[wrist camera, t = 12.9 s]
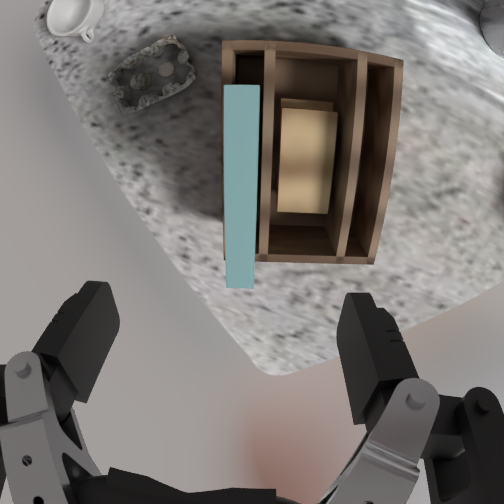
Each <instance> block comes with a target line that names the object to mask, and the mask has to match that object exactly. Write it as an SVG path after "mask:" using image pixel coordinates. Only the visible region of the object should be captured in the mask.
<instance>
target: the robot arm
mask: <svg viewBox="0 0 504 504" xmlns="http://www.w3.org/2000/svg"><path fill="white" fill-rule="evenodd" d="M480 26H481V30H482V33H483V36H484V38H485V40H486V42H487V43H488V45H489V46H490V47H491V49H492V50H493V51H494V52H495V53H496V54H498V55H499V56H501V57H503V58H504V0H492V1H486V2H485V7H484V8H483V9H482V11H481V13H480ZM119 326H120V319H119V314H118V311H117V307H116V304H115V301H114V298H113V294H112V290H111V287H110V285H109V284H108V282H101V281H87V282H86V283H85V284H84V285H83V287H82V288H81V289H80V291H79V292H78V294H77V293H75V294H74V295H73V296H71V297H70V298H69V299H67V300H66V301H65V302H64V303H63V305H62V306H61V308H60V309H59V310H58V314H56V315H55V316H54V318H53V319H52V322H50V323H49V325H48V326H47V328H46V330H45V331H44V332H43V334H42V336H41V337H40V339H39V340H38V342H37V343H36V345H35V346H34V348H33V350H32V351H31V352H28V351H26V352H21V353H18V354H17V355H15V356H14V357H12V358H11V359H10V361H9V362H8V363H7V364H6V365H0V497H1V493H2V490H3V486H4V482H5V479H6V476H7V479H8V484H9V488H10V492H11V496H12V500H13V503H14V504H299V503H297V502H295V501H293V500H290V499H286V498H283V497H278V496H276V489H248V488H247V489H246V488H228V489H221V490H213V491H205V492H195V493H187V492H183V491H180V490H178V489H175V488H173V487H170V486H168V485H165V484H163V483H161V482H158V481H156V480H154V479H152V478H150V477H147V476H144V475H139V474H135V473H131V472H127V471H123V470H119V469H115V468H111V467H110V469H109V472H108V475H101V473H100V471H99V469H98V467H97V466H96V464H95V463H94V462H93V460H92V458H91V457H90V455H89V453H88V450H87V447H86V445H85V442H84V439H83V436H82V433H81V430H80V428H79V424H78V421H77V418H76V415H75V411H74V409H73V408H72V405H73V403H74V400H76V401H80V402H84V403H87V401H88V398H89V396H90V393H91V391H92V388H93V386H94V384H95V382H96V379H97V377H98V375H99V373H100V370H101V368H102V366H103V363H104V361H105V359H106V357H107V355H108V352H109V350H110V348H111V346H112V344H113V342H114V339H115V337H116V335H117V333H118V331H119ZM337 346H338V350H339V355H340V359H341V364H342V368H343V373H344V378H345V382H346V387H347V392H348V397H349V402H350V407H351V412H352V417H353V422H354V425H358V424H365V425H366V430H367V432H366V434H365V435H364V437H363V439H362V440H361V442H360V444H359V445H358V447H357V448H356V450H355V452H354V453H353V455H352V456H351V458H350V459H349V461H348V462H347V464H346V465H345V467H344V468H343V470H342V471H341V473H340V474H339V476H338V477H337V479H336V480H335V481H334V483H333V484H332V485H331V486H330V487H329V489H328V490H327V491H326V493H325V494H324V495H323V496H322V498H321V499H320V500H319V501H318V503H317V504H406V502H407V500H408V498H409V497H410V495H411V493H412V491H413V488H414V486H415V484H416V482H417V480H418V477H419V472H420V470H419V469H418V468H417V463H418V461H419V459H420V458H422V459H424V464H425V470H426V475H427V481H428V488H429V494H430V501H431V504H504V414H503V411H502V408H501V406H500V403H499V401H498V399H497V397H496V396H495V395H494V394H493V393H492V392H491V391H490V390H488V389H486V388H483V387H475V388H472V389H470V390H469V391H468V392H467V393H466V395H465V396H464V397H463V398H460V397H452V396H444V395H439V394H438V392H437V391H436V389H435V388H434V387H433V386H432V385H431V384H430V383H429V382H427V381H425V380H422V379H420V378H419V376H418V374H417V371H416V369H415V366H414V364H413V361H412V359H411V356H410V354H409V352H408V349H407V347H406V345H405V342H403V338H402V335H401V333H400V332H399V328H398V326H397V324H396V322H395V319H394V318H393V317H392V316H391V315H390V314H389V313H388V312H387V311H386V310H385V309H384V308H377V307H376V305H375V303H374V300H373V298H372V296H371V294H370V293H347V294H346V296H345V300H344V304H343V307H342V311H341V315H340V319H339V323H338V327H337Z"/></svg>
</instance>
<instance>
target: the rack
mask: <svg viewBox="0 0 504 504" xmlns="http://www.w3.org/2000/svg"><path fill="white" fill-rule="evenodd" d="M403 61H404V60H401V59H397V58H393V57H388V56H384V55H379V54H375V53H370V52H365V51H359V50H354V49H348V48H341V47H334V46H327V45H319V44H309V43H299V42H285V41H263V40H225V41H222V92H221V140H222V210H223V248H224V260H226V259H225V216H224V85H259V86H260V114H259V151H258V186H257V215H256V240H255V261H258V262H293V263H331V264H373V265H374V261H375V257H376V253H377V249H378V244H379V240H380V236H381V231H382V226H383V222H384V217H385V212H386V207H387V201H388V196H389V191H390V185H391V179H392V173H393V166H394V160H395V152H396V145H397V137H398V128H399V119H400V109H401V97H402V82H403ZM280 98H290V99H304V100H315V101H326V102H332V103H333V111H334V112H338V117H337V130H336V142H335V153H334V164H333V173H332V183H331V191H330V200H329V208H328V214H320V213H298V212H277V205H276V202H277V194H276V178H277V156H278V132H279V106H280Z"/></svg>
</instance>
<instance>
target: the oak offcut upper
mask: <svg viewBox="0 0 504 504" xmlns="http://www.w3.org/2000/svg"><path fill="white" fill-rule="evenodd" d="M337 117H338V112H334V111H328V110H318V109H307V108H293V107H281V114H280V139H279V162H278V182H277V202H276V205H277V212H298V213H320V214H328V208H329V200H330V191H331V183H332V173H333V164H334V153H335V142H336V130H337Z"/></svg>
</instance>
